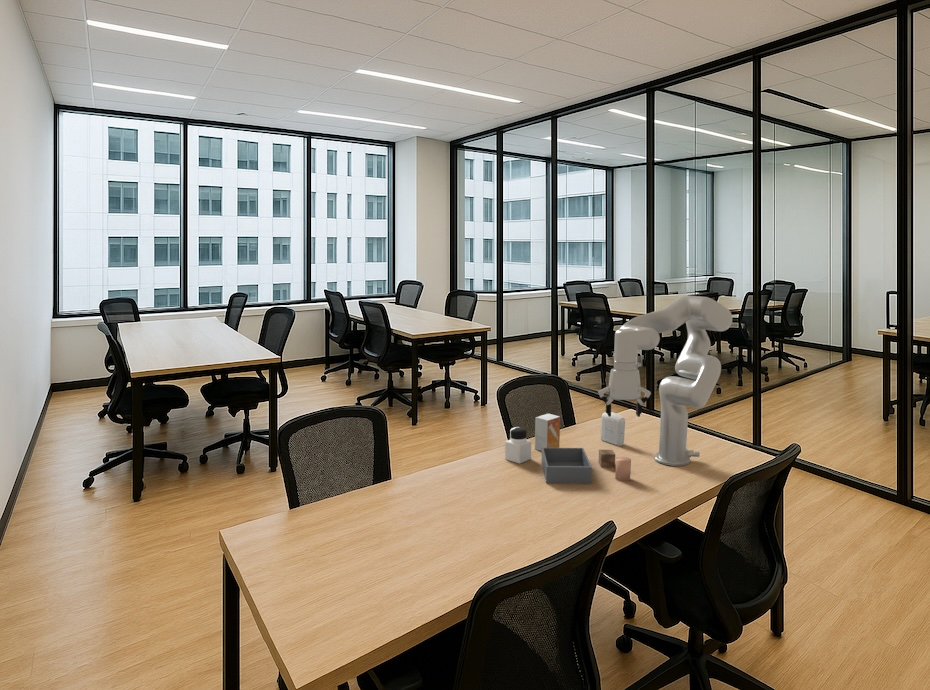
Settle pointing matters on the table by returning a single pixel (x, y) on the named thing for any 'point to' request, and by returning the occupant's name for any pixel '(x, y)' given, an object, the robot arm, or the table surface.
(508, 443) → the medicine bottle
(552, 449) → the tote
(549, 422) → the small box
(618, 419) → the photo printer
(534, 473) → the table surface
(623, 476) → the pink rounded block
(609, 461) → the walnut cube
